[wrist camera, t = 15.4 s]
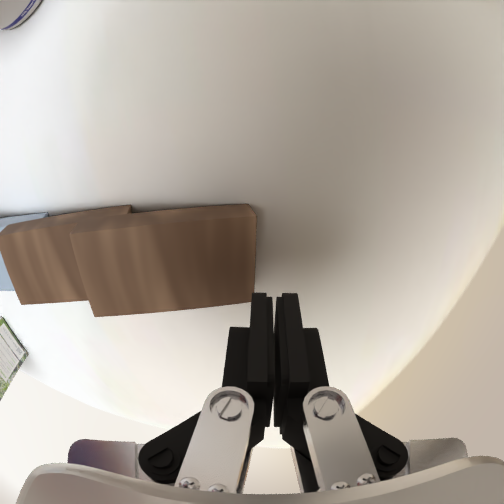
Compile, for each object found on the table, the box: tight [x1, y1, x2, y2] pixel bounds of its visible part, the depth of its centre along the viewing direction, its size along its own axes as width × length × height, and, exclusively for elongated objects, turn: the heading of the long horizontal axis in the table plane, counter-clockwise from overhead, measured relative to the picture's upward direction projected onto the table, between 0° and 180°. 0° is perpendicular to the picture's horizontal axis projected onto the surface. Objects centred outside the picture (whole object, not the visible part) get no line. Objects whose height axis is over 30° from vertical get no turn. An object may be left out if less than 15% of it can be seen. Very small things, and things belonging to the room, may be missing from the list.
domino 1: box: [0, 212, 48, 291], centre depth 15 cm, size 2×5×9 cm
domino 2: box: [0, 205, 132, 305], centre depth 15 cm, size 2×5×9 cm
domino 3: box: [70, 204, 257, 317], centre depth 14 cm, size 2×5×9 cm
